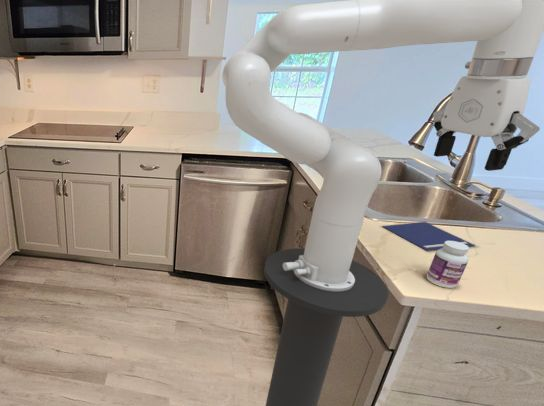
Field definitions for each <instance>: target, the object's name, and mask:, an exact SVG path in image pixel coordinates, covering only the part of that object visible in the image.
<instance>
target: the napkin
mask: <svg viewBox="0 0 544 406" xmlns="http://www.w3.org/2000/svg"><path fill="white" fill-rule="evenodd" d="M382 228H383V229H385V230H387V231H388V232H390V233H393V234H395V235H397V236H399V237H400V238H402V239H403V240H406V241H408V242H409V243H412V244H413V245H415V246H416V247H418V248H421V249H422V250H424V251H426V252H432V251H433V252H434V251H437V250H439V249H441V248H443V244H444V242H445V241H456V242H460V243H463V244H465V245H467V246H468V247H469V248H471V247H476V245H475V244H473V243H472V242H469V241H466V240H464V239H462V238H460V237H458V236H456V235H454V234H452V233H450V232H448V231H445V230H443V229H441V228H439V227H437V226H434V225H432V224H430V223H428V222H427V221H423V222H422V221H421V222H413V223H412V222H411V223H400V224H390V225H383V226H382Z"/></svg>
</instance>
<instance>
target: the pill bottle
mask: <svg viewBox="0 0 544 406" xmlns="http://www.w3.org/2000/svg"><path fill="white" fill-rule="evenodd" d="M469 250H470V247H468V246H467V245H465V244H463V243H460V242H456V241H445V242H444V244H443V248H441V249H439V250H435V253H434V256H433V258H432V261H431V263H430V266H429V268H428V271H427V274H426V280H428V281H429V282H430V283H432V284H433V285H436V286H438V287H441V288H445V289H454V288H456V287H458V286H459V283H460V282H461V278H462V277H463V274H464V272H465V270H466V268H467V266H468V263H469V257H468V255H467V254H468V252H469Z"/></svg>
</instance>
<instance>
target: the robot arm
mask: <svg viewBox="0 0 544 406" xmlns="http://www.w3.org/2000/svg"><path fill="white" fill-rule="evenodd" d="M543 33H544V0H337V1H325V2H317V3H316V2H315V3H306V4H297V5H294V6H291V7H288V8H286V9H283V10H281V11H279V12H278V13H277V14H275V15H274V16H273V17H272V18H271V19H270V20H268V22H267V23H266V24H265V25H264V26H263V27H262V28H261V29H259V30H258V32H256V34H254V36H252V37H251V38H250V39H249V40H248V41H247V42H246V43H245V44H244V45H243V46H242V47H241V48H240V49H238V50H237V51H236V52H235V54H233V55H232V56H231V57H230V58H229V59H228V61H227V62H226V63H225V65H224V67H223V70H222V75H221V76H222V82H223V83H222V84H223V85H224V86H225V106H226V110H227V113H228V115H229V117H230V119H231V121H232V122H233V124H234V125H235V126H236V127H237V128H238V129H240V130H241V131H243V132H244V133H246V134H247V135H249V136H250V137H252V138H253V139H255V140H256V141H258V142H260V143H261V144H263V145H265V146H266V147H268V148H270V149H271V150H273V151H274V152H277V154H280V155H281V156H283V157H284V158H285V159H286V160H288V161H290V162H292V163H295V164H298V165H305V166H307V167H308V168H310V169H312V170H314V171H315V172H317V173H318V174H319V175H320V176H321V178H322V179H323V181H322V185H321V188H320V189H319V191H318V194H317V196H316V199H315V201H314V205H313V209H312V215H311V219H310V222H309V223H310V224H309V227H308V232H307V233H308V234H307V237H306V243H305V246H304V249H305V251H304V255H300V256H299V259H298V260H296V261H295V262H287V263H283V269H284V270H285V271H289V270H293V271H294V274H295V275H296V276H297V277H298V278H299V279H300V280H301V281H303V282H304V283H306V284H308V285H310V286H312V287H315V288H318V289H321V290H326V291H333V292H340V291H346V290H349V289H351V288H352V287H353V286H354V283H355V278H354V276H353V274H352V273H351V272H350V271H349V269H350V266H351V262H352V260H353V259H354V255H355V251H356V247H357V244H358V241H359V237H360V233H361V230H362V226H363V223H364V219H365V217H366V212H367V209H368V206H369V203H370V201H371V199H372V196H373V195H374V193H375V191H376V189H377V187H378V186H379V183H380V181H381V178H382V169H383V168H382V164H381V162H380V160H379V157H378V156H376V155H375V153H374V152H372V151H371V150H370V149H368V148H367V147H365V146H363V144H362V145H361V144H360V143H358V142H356V141H354V140H352V139H351V138H349V137H347V136H346V135H343V134H342V133H340V132H338V131H337V130H335V129H333V128H332V127H330V126H328V125H326V124H324V123H322V122H321V121H319V120H317V119H316V118H314V117H312V116H311V115H309V114H307V113H303V112H297V111H296V110H294V109H292V108H290V107H289V106H287V105H286V104H284V103H282V102H281V101H279V100H278V99H276V98H275V97H274V96H273V94H272V93H271V88H270V85H271V79H272V78H271V77H272V74H271V73H272V72H274V71H275V70H276V68H278V67H279V66H280V65H281V64H282V63H283V62H284V61H285V60H286V59H288V57H290V55H309V54H321V53H322V54H323V53H338V52H351V51H354V52H355V51H369V50H383V49H391V48H398V47H406V46H417V45H418V46H420V45H435V44H436V45H437V44H450V43H464V42H476V45H475V48H474V51H473V53H472V58H471V60H469V61H467V62H466V63H465V65H464V68H465V69H467V72H466V73H467V74H466V75H465V76H461V77H460V79H459V80H458V82H457V84H456V85H455V87H454V89H453V90H452V92H451V95H450V97H449V99H448V102H447V105H446V107H445V108H443V109H439V110H437V111H434V112H433V113H432V118H433V122H434V123H433V127H434V129H435V130H436V132H435V135H436V137H437V138H438V139H437V143H436V145H435V150H434V152H433V156H434V157H437V158H438V157H447V156H450V155H451V154H452V150H453V148H454V145H455V141H456V139H457V137H456V135H455V134H456V133H460V134H461V133H462V134H464V135H465V134H466V135H471V136H476V137H482V138H491V140H492V142H493V144H494V146H495V148H491V150H490V151H489V155H488V156H487V159H486V163H485V165H484V170H485V171H488V172H490V171H491V172H492V171H500V170H503V169H504V168H505V166H507V163H508V160H509V158H510V156H511V153H512V151H513V150H514V149H517V148H518V147H519V146H521V145H523V144H526V143H527V142H529V139H531V138H532V137H534V135H536V134H537V133H538V132H539V131H540V126H538V125H537V124H535V123H534V122H532V120H530V119H528V118H527V117H525V116H524V112H525V110H526V109H525V108H526V106H527V101H528V96H529V92H530V81H531V80H530V78H531V77H528V74H529V72H530V68H531V65H532V64H533V61H534V57H535V55H536V52H537V50H538V47H539V44H540V41H541V39H542V36H543ZM518 129H519V130H520V131H519V133H517V135H516V136H515V135H514V134H515V133H516V131H517V130H518Z"/></svg>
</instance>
